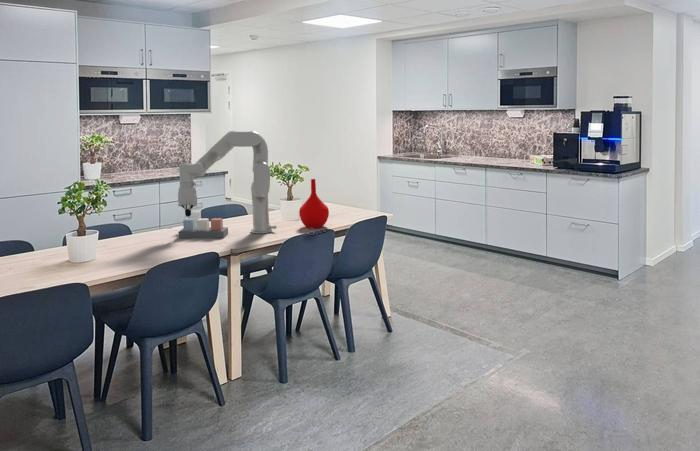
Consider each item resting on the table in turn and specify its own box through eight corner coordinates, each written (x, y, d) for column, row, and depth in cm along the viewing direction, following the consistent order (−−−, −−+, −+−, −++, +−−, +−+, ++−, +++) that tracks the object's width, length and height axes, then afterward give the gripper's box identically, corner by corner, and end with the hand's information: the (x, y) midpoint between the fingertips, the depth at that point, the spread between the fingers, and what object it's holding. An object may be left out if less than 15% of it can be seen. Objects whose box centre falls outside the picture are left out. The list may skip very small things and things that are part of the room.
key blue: (196, 229, 358) (195, 218, 357) (193, 231, 352) (192, 220, 351) (186, 229, 358) (185, 218, 357) (183, 231, 352) (183, 220, 351)
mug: (187, 233, 365) (185, 213, 362) (180, 231, 371) (179, 212, 369) (204, 230, 372) (203, 211, 370) (197, 228, 379) (196, 209, 376)
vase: (328, 229, 369) (327, 180, 364) (298, 229, 370) (296, 181, 364) (329, 224, 387) (328, 177, 382) (301, 224, 388) (299, 177, 382)
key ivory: (209, 229, 358) (208, 218, 356) (207, 231, 352) (206, 220, 351) (200, 229, 358) (199, 218, 357) (197, 231, 352) (196, 220, 351)
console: (228, 233, 361) (227, 227, 361) (223, 238, 350) (223, 231, 349) (184, 234, 362) (184, 227, 361) (178, 238, 350) (178, 231, 349)
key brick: (223, 229, 358) (222, 218, 356) (220, 230, 352) (220, 219, 351) (213, 229, 358) (212, 218, 356) (211, 231, 352) (210, 220, 351)
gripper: (201, 184, 354) (202, 215, 357) (175, 184, 354) (177, 215, 357) (197, 185, 346) (199, 217, 350) (171, 185, 347) (173, 217, 350)
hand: (188, 216), depth 353 cm, fingers closed
